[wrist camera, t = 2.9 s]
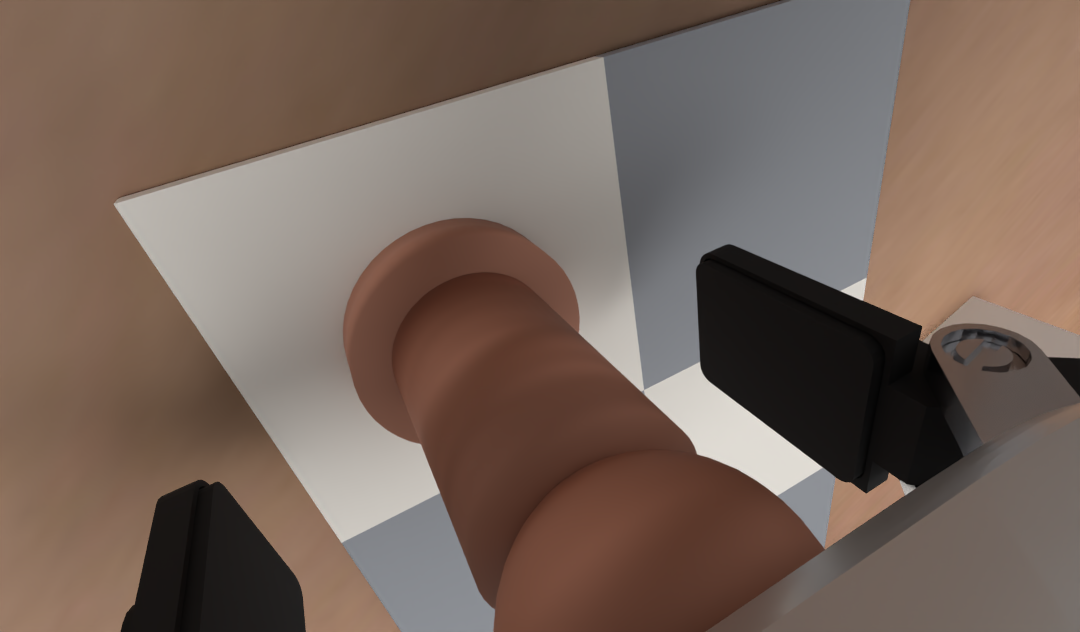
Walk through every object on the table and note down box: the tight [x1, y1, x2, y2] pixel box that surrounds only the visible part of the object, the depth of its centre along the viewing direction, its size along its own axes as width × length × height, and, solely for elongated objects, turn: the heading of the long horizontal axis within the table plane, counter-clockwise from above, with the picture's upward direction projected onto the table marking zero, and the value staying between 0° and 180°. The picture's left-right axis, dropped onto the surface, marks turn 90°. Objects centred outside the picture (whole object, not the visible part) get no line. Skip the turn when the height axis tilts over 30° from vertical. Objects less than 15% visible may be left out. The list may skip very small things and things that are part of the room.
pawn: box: [343, 218, 825, 632], centre depth 9 cm, size 5×5×10 cm
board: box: [114, 0, 910, 632], centre depth 19 cm, size 19×28×1 cm, turn 12°
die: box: [923, 296, 1080, 358], centre depth 23 cm, size 5×5×6 cm
